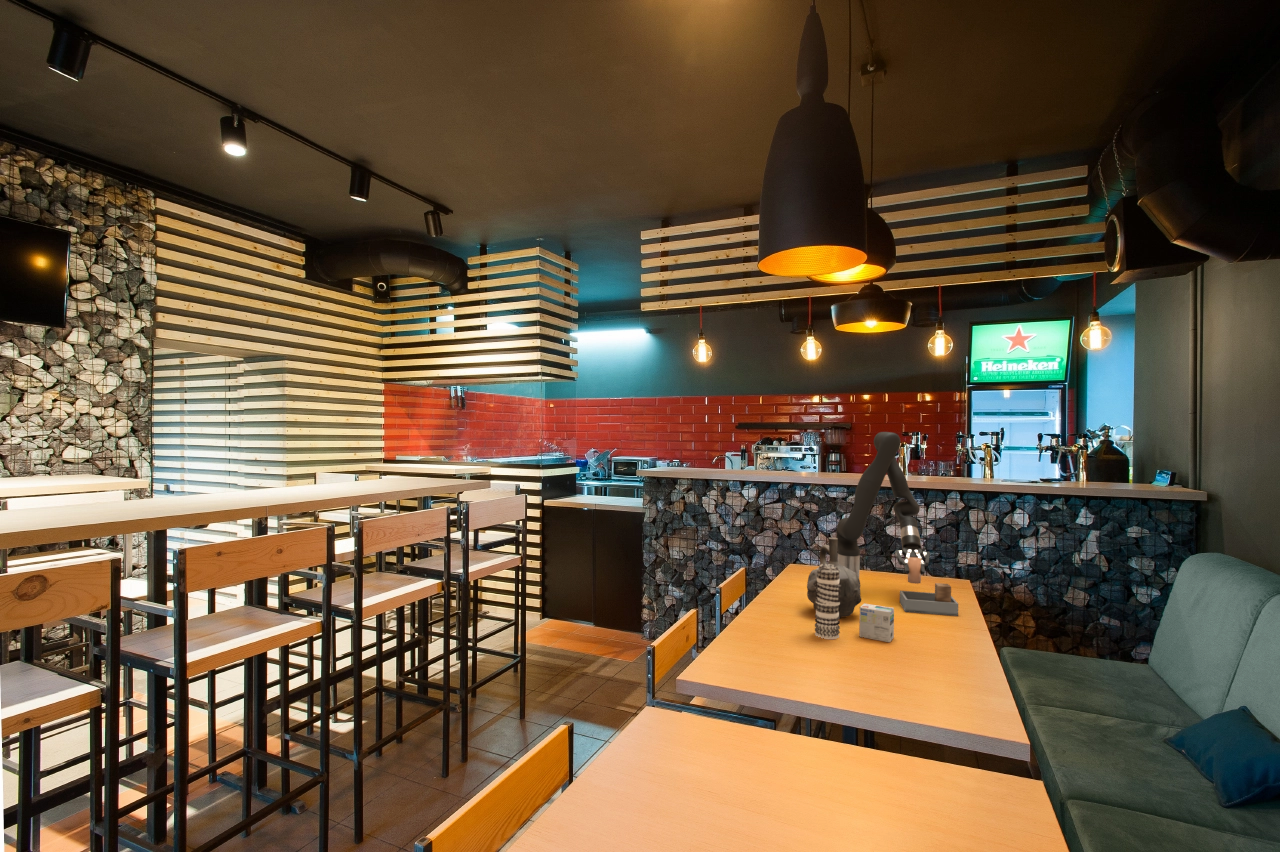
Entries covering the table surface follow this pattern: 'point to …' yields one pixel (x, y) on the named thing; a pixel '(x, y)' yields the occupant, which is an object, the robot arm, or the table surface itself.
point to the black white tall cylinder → (827, 602)
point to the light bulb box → (876, 622)
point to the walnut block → (942, 592)
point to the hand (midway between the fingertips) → (915, 573)
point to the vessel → (847, 582)
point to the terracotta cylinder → (914, 570)
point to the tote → (927, 604)
